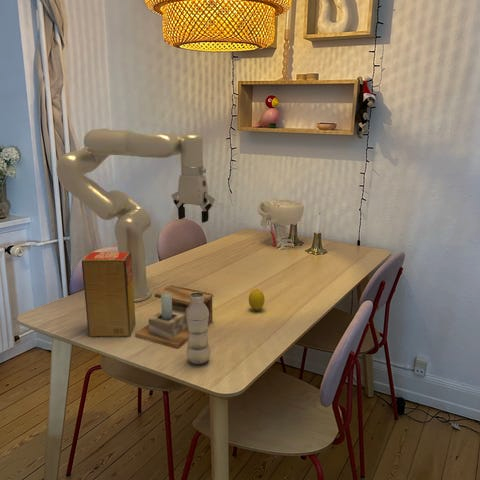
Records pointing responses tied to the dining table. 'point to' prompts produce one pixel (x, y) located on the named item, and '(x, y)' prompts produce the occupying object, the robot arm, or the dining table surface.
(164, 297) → the peg
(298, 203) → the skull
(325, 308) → the dining table surface
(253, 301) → the lemon
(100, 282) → the food packaging
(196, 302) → the plastic bottle
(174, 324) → the stand
